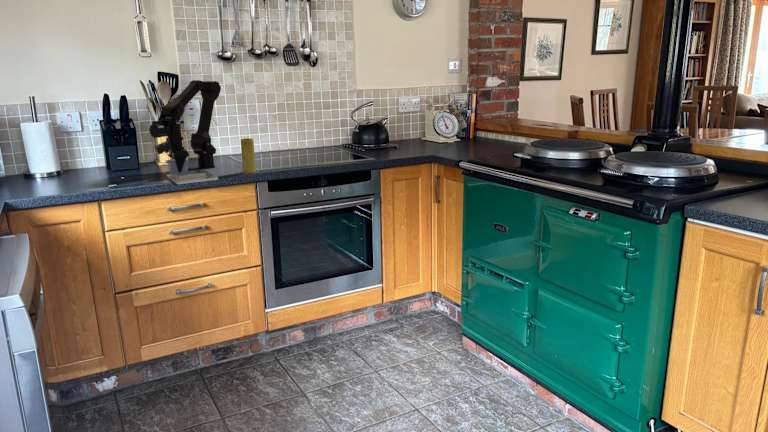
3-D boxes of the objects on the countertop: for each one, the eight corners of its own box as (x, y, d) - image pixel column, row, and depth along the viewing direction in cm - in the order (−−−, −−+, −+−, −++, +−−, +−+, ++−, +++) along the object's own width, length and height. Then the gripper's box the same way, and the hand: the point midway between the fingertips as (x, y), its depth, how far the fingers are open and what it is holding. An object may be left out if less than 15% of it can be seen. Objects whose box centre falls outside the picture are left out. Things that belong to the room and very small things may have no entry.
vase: (242, 174, 243) (239, 140, 239) (242, 171, 249) (239, 138, 245) (257, 173, 244) (254, 139, 241) (256, 170, 250) (253, 138, 246)
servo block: (188, 171, 250) (186, 156, 249) (190, 173, 247) (189, 158, 245) (167, 174, 246) (165, 159, 244) (169, 175, 243) (167, 160, 241)
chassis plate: (204, 172, 248) (204, 166, 248) (218, 179, 232) (217, 172, 231) (166, 176, 240) (165, 170, 239) (177, 184, 224) (176, 177, 223)
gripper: (150, 134, 246) (154, 170, 250) (159, 138, 230) (163, 176, 235) (176, 132, 251) (180, 167, 255) (187, 136, 236) (191, 173, 240)
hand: (178, 171), depth 246 cm, fingers closed on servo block, 4 cm apart
